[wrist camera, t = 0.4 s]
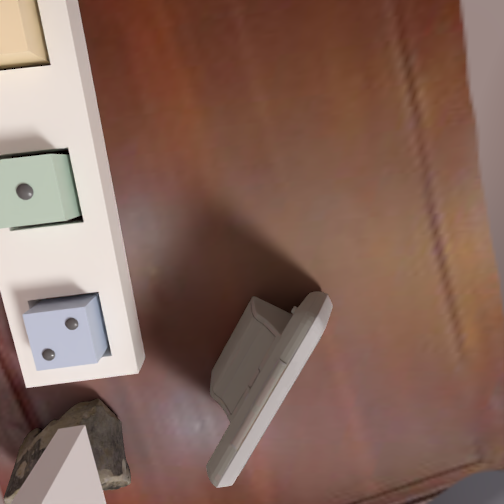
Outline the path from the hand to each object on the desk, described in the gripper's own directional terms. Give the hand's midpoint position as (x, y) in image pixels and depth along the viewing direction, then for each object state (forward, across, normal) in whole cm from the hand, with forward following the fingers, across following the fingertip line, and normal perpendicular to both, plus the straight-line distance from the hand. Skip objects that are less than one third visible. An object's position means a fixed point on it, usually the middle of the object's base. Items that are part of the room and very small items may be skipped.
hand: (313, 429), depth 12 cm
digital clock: (+26, 0, -11) cm, 28 cm away
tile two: (+24, -17, -4) cm, 30 cm away
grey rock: (+26, -20, -18) cm, 38 cm away
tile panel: (+26, -17, +8) cm, 32 cm away
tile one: (+24, -17, +8) cm, 31 cm away
